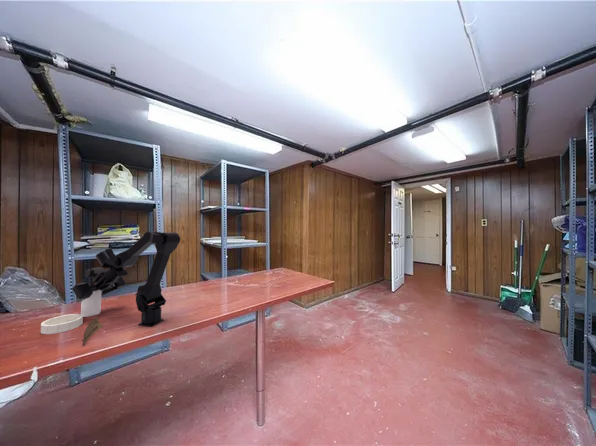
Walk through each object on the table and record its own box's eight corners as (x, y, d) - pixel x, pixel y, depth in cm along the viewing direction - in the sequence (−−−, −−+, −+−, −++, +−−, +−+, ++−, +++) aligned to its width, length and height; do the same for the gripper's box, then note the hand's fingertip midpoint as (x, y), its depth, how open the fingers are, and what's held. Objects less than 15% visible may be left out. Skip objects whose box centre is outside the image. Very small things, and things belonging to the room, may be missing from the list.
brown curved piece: (88, 345, 72) (89, 330, 72) (80, 347, 71) (80, 332, 71) (103, 326, 86) (103, 314, 86) (96, 327, 85) (96, 315, 85)
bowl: (89, 322, 89) (89, 315, 89) (55, 335, 78) (55, 327, 78) (68, 319, 91) (69, 312, 91) (32, 332, 80) (32, 324, 80)
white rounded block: (88, 318, 93) (89, 290, 93) (76, 316, 94) (77, 289, 94) (104, 312, 99) (105, 286, 99) (93, 311, 100) (94, 285, 101)
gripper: (121, 258, 105) (102, 279, 107) (76, 265, 87) (54, 290, 89) (134, 275, 104) (115, 296, 106) (91, 286, 85) (68, 311, 87)
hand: (90, 298), depth 97 cm, fingers open, 9 cm apart
